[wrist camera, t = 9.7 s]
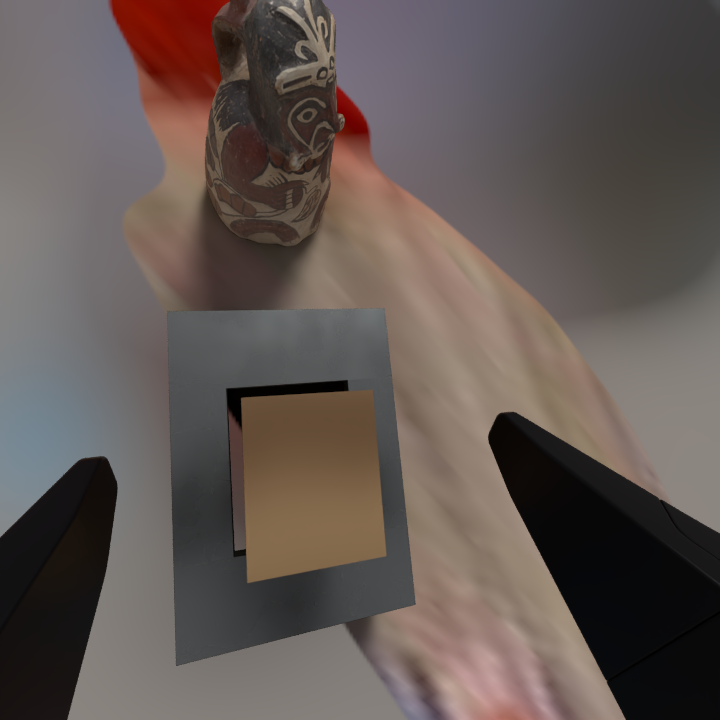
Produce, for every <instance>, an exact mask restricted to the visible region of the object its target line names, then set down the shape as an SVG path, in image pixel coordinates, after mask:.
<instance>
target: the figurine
mask: <svg viewBox="0 0 720 720" xmlns="http://www.w3.org/2000/svg"><path fill="white" fill-rule="evenodd" d="M335 31H336V30H335V21H334V17H333V15H332V13H331V11H330V10H329V9H328V8H327V7H326V6H325V5H324V3H323V2H322V0H230V2H229V3H227V4H226V5H224V6H223V7H222V8H221V9H220V11H219V12H218V14H217V15H216V16H215V18H214V19H213V21H212V37H213V41H214V45H215V48H216V53H217V58H218V62H219V67H220V72H221V78H222V81H221V83H220V85H219V87H218V90H217V92H216V95H215V97H214V100H213V103H212V107H211V111H210V116H209V122H208V131H207V137H206V148H205V174H206V185H207V189H208V192H209V195H210V198H211V201H212V204H213V206H214V208H215V210H216V211H217V213H218V215H219V217H220V219H221V220H222V221H223V222H224V224H225V225H226V226H227V227H228V228H229V229H230V230H231V231H232V232H233V233H235V234H236V235H237V236H239V237H241V238H245V239H250V240H252V241H255V242H258V243H268V244H274V243H277V244H281V245H283V246H295V245H297V244H298V243H300V242H301V241H302V240H303V239H304V238H306V237H307V236H309V235H311V234H312V233H314V232H315V231H316V230H317V228H318V224H319V221H320V216H321V214H322V211H323V208H324V205H325V202H326V200H327V198H328V194H329V190H330V185H331V183H330V166H331V159H332V151H333V144H334V137H335V133H337V132H339V131H341V130H342V128H343V126H344V120H345V118H344V116H343V115H342V114H337V100H336V84H337V80H336V71H335V36H336V32H335Z"/></svg>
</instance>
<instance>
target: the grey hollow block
mask: <svg viewBox="0 0 720 720" xmlns="http://www.w3.org/2000/svg"><path fill="white" fill-rule="evenodd" d="M167 323H168V361H169V400H170V439H171V440H170V441H171V477H172V478H171V481H172V520H173V558H174V559H173V561H174V600H175V639H176V666H178V665H182V664H186V663H189V662H194V661H197V660H201V659H205V658H209V657H213V656H217V655H221V654H225V653H228V652H232V651H237V650H240V649H244V648H248V647H251V646H256V645H260V644H264V643H268V642H272V641H275V640H279V639H283V638H287V637H291V636H295V635H299V634H303V633H306V632H310V631H315V630H318V629H322V628H326V627H330V626H333V625H338V624H342V623H346V622H350V621H354V620H357V619H361V618H365V617H369V616H373V615H377V614H381V613H385V612H389V611H393V610H396V609H400V608H404V607H408V606H412V605H416V603H415V594H414V584H413V575H412V565H411V556H410V546H409V537H408V527H407V518H406V508H405V498H404V489H403V479H402V470H401V460H400V451H399V441H398V432H397V422H396V412H395V403H394V393H393V384H392V374H391V365H390V355H389V346H388V336H387V326H386V317H385V308H371V309H302V310H233V311H167ZM330 382H344V388H345V391H360V390H373V397H374V409H375V421H376V434H377V446H378V458H379V471H380V483H381V495H382V507H383V520H384V532H385V544H386V556H384V557H379V558H374V559H369V560H364V561H359V562H354V563H348V564H343V565H338V566H333V567H328V568H323V569H317V570H312V571H307V572H302V573H297V574H292V575H286V576H281V577H276V578H271V579H266V580H261V581H255V582H250V583H247V558H246V549H244V550H238V551H235V550H234V529H233V508H232V484H231V462H230V441H229V419H228V397H227V390H231V389H245V388H259V387H273V386H287V385H302V384H316V383H330Z"/></svg>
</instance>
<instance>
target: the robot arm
mask: <svg viewBox="0 0 720 720" xmlns="http://www.w3.org/2000/svg"><path fill="white" fill-rule="evenodd" d="M488 440H489V444H490V447H491V449H492V452H493V454H494V457H495V459H496V462H497V464H498V467H499V469H500V472H501V474H502V477H503V479H504V482H505V484H506V487H507V489H508V491H509V494H510V496H511V498H512V500H513V502H514V504H515V506H516V508H517V510H518V512H519V514H520V516H521V518H522V519H523V521H524V523H525V525H526V527H527V529H528V531H529V533H530V535H531V537H532V539H533V541H534V543H535V545H536V546H537V548H538V550H539V552H540V554H541V556H542V558H543V560H544V562H545V564H546V566H547V568H548V570H549V572H550V573H551V575H552V577H553V579H554V581H555V583H556V585H557V587H558V589H559V591H560V593H561V595H562V597H563V599H564V600H565V602H566V604H567V606H568V608H569V610H570V612H571V614H572V616H573V618H574V620H575V622H576V624H577V626H578V627H579V629H580V631H581V633H582V635H583V637H584V639H585V641H586V643H587V645H588V647H589V649H590V651H591V653H592V654H593V656H594V658H595V660H596V662H597V664H598V666H599V668H600V670H601V672H602V674H603V676H604V678H605V679H606V680H607V684H608V686H609V688H610V690H611V692H612V694H613V695H614V697H615V699H616V701H617V703H618V705H619V707H620V709H621V711H622V713H623V715H624V717H625V719H626V720H720V533H718V532H716V531H714V530H713V529H711V528H709V527H707V526H705V525H704V524H702V523H700V522H699V521H697V520H695V519H693V518H692V517H690V516H688V515H686V514H685V513H683V512H681V511H680V510H678V509H676V508H675V507H673V506H671V505H670V504H668V503H666V502H665V501H663V500H659V498H658V497H656V496H655V495H653V494H651V493H650V492H648V491H646V490H645V489H643V488H641V487H640V486H638V485H636V484H635V483H633V482H631V481H630V480H628V479H626V478H625V477H623V476H621V475H620V474H618V473H616V472H615V471H613V470H611V469H609V468H608V467H606V466H604V465H603V464H601V463H599V462H598V461H596V460H594V459H593V458H591V457H589V456H588V455H586V454H584V453H583V452H581V451H579V450H578V449H576V448H574V447H573V446H571V445H569V444H568V443H566V442H564V441H563V440H561V439H559V438H558V437H556V436H554V435H553V434H551V433H549V432H548V431H546V430H544V429H543V428H541V427H539V426H538V425H536V424H534V423H533V422H531V421H529V420H528V419H526V418H524V417H523V416H521V415H519V414H518V413H516V412H504V413H500V414H498V415H497V417H496V419H495V421H494V423H493V426H492V428H491V430H490V432H489V435H488ZM116 499H117V481H116V479H115V476H114V474H113V471H112V469H111V466H110V464H109V461H108V459H107V458H106V457H104V456H100V457H91V458H83V459H81V460H79V461H78V462H77V463H75V464H74V465H73V466H72V467H71V468H70V469H69V470H68V471H67V472H66V473H65V474H64V475H63V476H62V477H61V478H60V479H59V480H58V481H57V482H56V483H55V484H54V485H53V486H52V487H51V488H50V489H49V490H48V491H47V492H46V493H45V494H44V495H43V496H42V497H41V498H40V499H39V500H38V501H37V502H36V503H35V504H34V505H33V506H32V507H31V508H30V509H29V510H28V511H27V512H26V513H25V514H24V515H23V516H22V517H21V518H20V519H18V521H17V522H15V524H13V525H12V526H11V527H10V528H9V529H8V530H7V531H6V532H5V533H4V534H3V535H2V536H1V537H0V720H67V719H68V715H69V711H70V707H71V703H72V699H73V696H74V692H75V687H76V684H77V681H78V677H79V673H80V669H81V665H82V661H83V658H84V654H85V650H86V646H87V642H88V639H89V635H90V631H91V627H92V623H93V620H94V616H95V612H96V608H97V605H98V601H99V597H100V593H101V589H102V585H103V582H104V577H105V573H106V568H107V562H108V556H109V549H110V542H111V535H112V528H113V521H114V512H115V506H116Z"/></svg>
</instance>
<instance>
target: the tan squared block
mask: <svg viewBox="0 0 720 720" xmlns="http://www.w3.org/2000/svg"><path fill="white" fill-rule="evenodd" d="M241 408H242V438H243V464H244V465H243V467H244V498H245V526H246V527H245V528H246V558H247V583H250V582H255V581H261V580H266V579H271V578H276V577H281V576H286V575H292V574H297V573H302V572H307V571H312V570H317V569H323V568H328V567H333V566H338V565H343V564H348V563H354V562H359V561H364V560H369V559H374V558H379V557H384V556H386V544H385V532H384V520H383V507H382V495H381V483H380V471H379V458H378V446H377V434H376V421H375V409H374V397H373V390H360V391H343V392H327V393H311V394H294V395H278V396H261V397H245V398H241Z"/></svg>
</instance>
